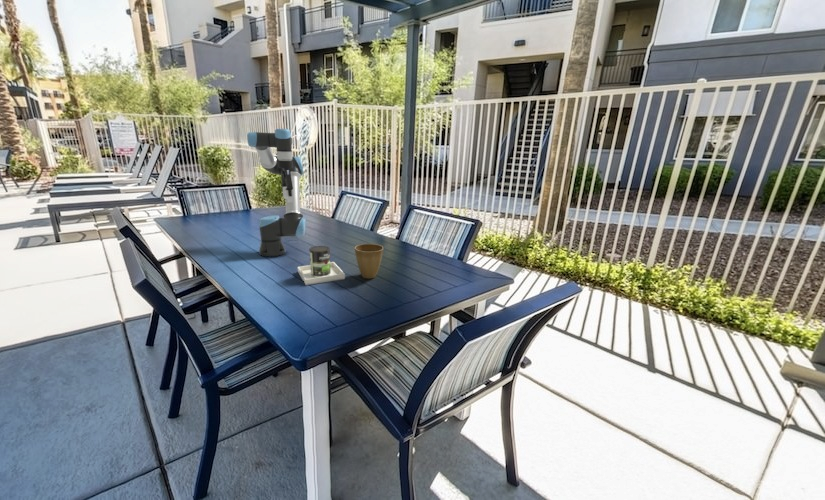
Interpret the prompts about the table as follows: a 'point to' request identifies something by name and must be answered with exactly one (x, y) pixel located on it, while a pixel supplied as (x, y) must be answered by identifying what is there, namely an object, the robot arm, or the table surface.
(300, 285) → the table surface
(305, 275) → the tray
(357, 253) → the plant pot
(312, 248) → the coffee can
